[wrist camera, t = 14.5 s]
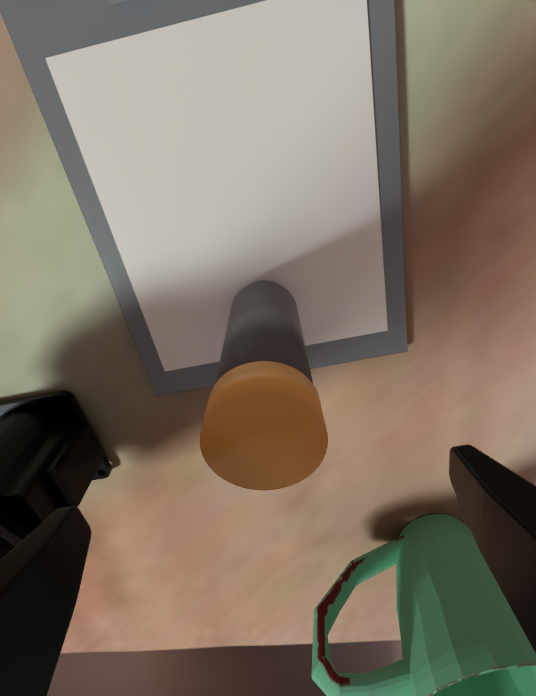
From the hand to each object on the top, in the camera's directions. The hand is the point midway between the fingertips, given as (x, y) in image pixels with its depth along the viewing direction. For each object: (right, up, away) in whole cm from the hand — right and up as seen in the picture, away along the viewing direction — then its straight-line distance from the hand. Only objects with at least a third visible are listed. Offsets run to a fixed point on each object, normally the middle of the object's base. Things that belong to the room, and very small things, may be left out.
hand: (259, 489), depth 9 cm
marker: (0, +5, +10) cm, 11 cm away
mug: (+10, -11, +19) cm, 24 cm away
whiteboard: (-1, +10, +8) cm, 13 cm away
